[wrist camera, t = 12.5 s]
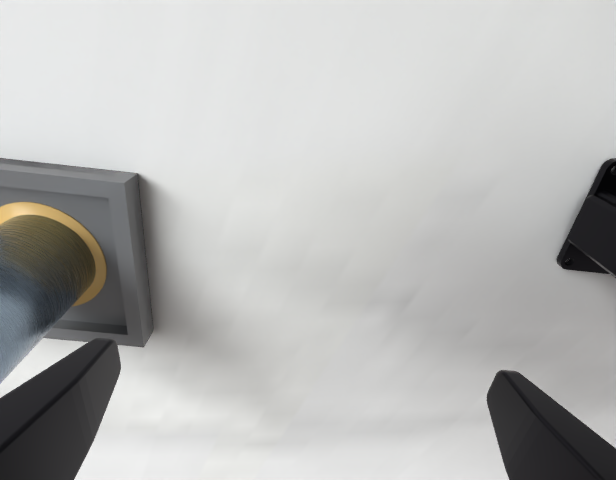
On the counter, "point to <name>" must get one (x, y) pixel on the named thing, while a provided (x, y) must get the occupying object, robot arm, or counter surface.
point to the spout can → (37, 282)
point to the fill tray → (90, 243)
